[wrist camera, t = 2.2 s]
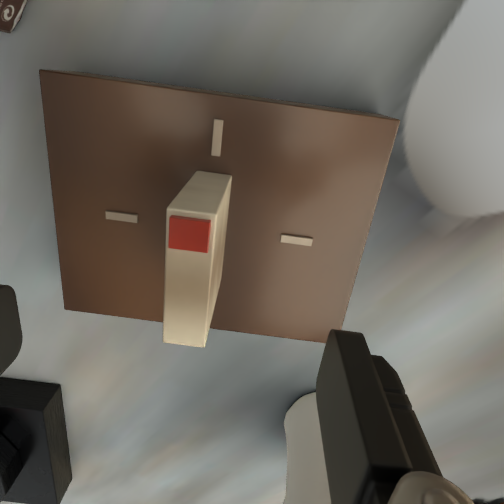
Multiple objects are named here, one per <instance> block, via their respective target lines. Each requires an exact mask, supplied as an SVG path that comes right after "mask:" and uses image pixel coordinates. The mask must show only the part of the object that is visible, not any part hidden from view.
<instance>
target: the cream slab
mask: <svg viewBox="0 0 504 504" xmlns="http://www.w3.org/2000/svg"><path fill="white" fill-rule="evenodd" d="M231 181H232V176H231V175H226V174H218V173H211V172H204V171H196V172H195V174H194V175H193V176H192V177H191V179H190V180H189V181H188V182H187V184H186V185H185V186H184V187H183V189H182V190H181V191H180V192H179V194H178V195H177V196H176V197H175V198H174V200H173V201H172V202H171V203H170V205H169V206H168V207H167V214H166V247H165V281H164V314H163V342H164V343H172V344H180V345H187V346H195V347H205V345H206V340H207V336H208V332H209V328H210V324H211V319H212V315H213V311H214V307H215V303H216V299H217V294H218V290H219V286H220V282H221V276H222V267H223V257H224V248H225V238H226V229H227V219H228V210H229V200H230V191H231Z"/></svg>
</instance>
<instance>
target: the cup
mask: <svg viewBox="0 0 504 504" xmlns="http://www.w3.org/2000/svg"><path fill="white" fill-rule="evenodd" d="M284 428H285V434H286V441H287V478H286V496H285V499H284V503H283V504H331V499H330V492H329V485H328V478H327V471H326V464H325V457H324V451H323V444H322V437H321V430H320V423H319V416H318V409H317V402H316V392H313V393H310V394H307V395H304V396H302V397H301V398H300V399H298V400H297V401H296V402H295V403H294V404H293V405H292V406H291V408H290V409H289V410H288V411H287V412H286V416H285V420H284Z"/></svg>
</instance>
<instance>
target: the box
mask: <svg viewBox="0 0 504 504" xmlns="http://www.w3.org/2000/svg"><path fill="white" fill-rule="evenodd" d="M27 1H28V0H0V31H2V32H6V33H11V32H12V31H13V29H14V27H15V26H16V24H17V23H18V22H19V21H20V19H21V16H22V12H23V10H24V8H25V6H26V3H27Z"/></svg>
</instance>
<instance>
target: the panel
mask: <svg viewBox="0 0 504 504" xmlns="http://www.w3.org/2000/svg"><path fill="white" fill-rule="evenodd" d="M39 75H40V84H41V94H42V103H43V112H44V122H45V131H46V140H47V150H48V159H49V168H50V178H51V187H52V196H53V206H54V215H55V224H56V234H57V243H58V252H59V262H60V271H61V280H62V290H63V299H64V309H65V310H72V311H80V312H88V313H96V314H103V315H111V316H119V317H127V318H134V319H142V320H150V321H158V322H163V314H164V281H165V247H166V214H167V207H168V206H169V205H170V203H171V202H172V201H173V200H174V198H175V197H176V196H177V195H178V194H179V192H180V191H181V190H182V189H183V187H184V186H185V185H186V184H187V182H188V181H189V180H190V179H191V177H192V176H193V175H194V174H195V172H196V171H204V172H211V173H218V174H226V175H231V176H232V181H231V191H230V200H229V210H228V219H227V229H226V238H225V248H224V257H223V267H222V276H221V282H220V286H219V290H218V294H217V299H216V303H215V307H214V311H213V315H212V319H211V324H210V328H212V329H220V330H228V331H235V332H243V333H251V334H259V335H266V336H274V337H282V338H290V339H297V340H305V341H313V342H321V343H326V342H327V338H328V335H329V332H330V330H331V329H336V330H341V328H342V324H343V321H344V317H345V314H346V310H347V307H348V303H349V299H350V296H351V292H352V289H353V285H354V282H355V278H356V275H357V271H358V268H359V264H360V261H361V257H362V254H363V250H364V247H365V243H366V239H367V236H368V232H369V229H370V225H371V222H372V218H373V215H374V211H375V208H376V204H377V201H378V197H379V194H380V190H381V187H382V183H383V179H384V176H385V172H386V169H387V165H388V162H389V158H390V155H391V151H392V148H393V144H394V141H395V137H396V134H397V130H398V126H399V123H400V120H398V119H395V118H391V117H388V116H384V115H381V114H376V113H369V112H362V111H354V110H347V109H340V108H333V107H326V106H319V105H312V104H305V103H297V102H290V101H283V100H276V99H269V98H262V97H255V96H248V95H240V94H233V93H226V92H219V91H212V90H205V89H198V88H191V87H183V86H176V85H169V84H162V83H155V82H148V81H141V80H133V79H126V78H119V77H112V76H105V75H98V74H91V73H84V72H76V71H59V70H39Z"/></svg>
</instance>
